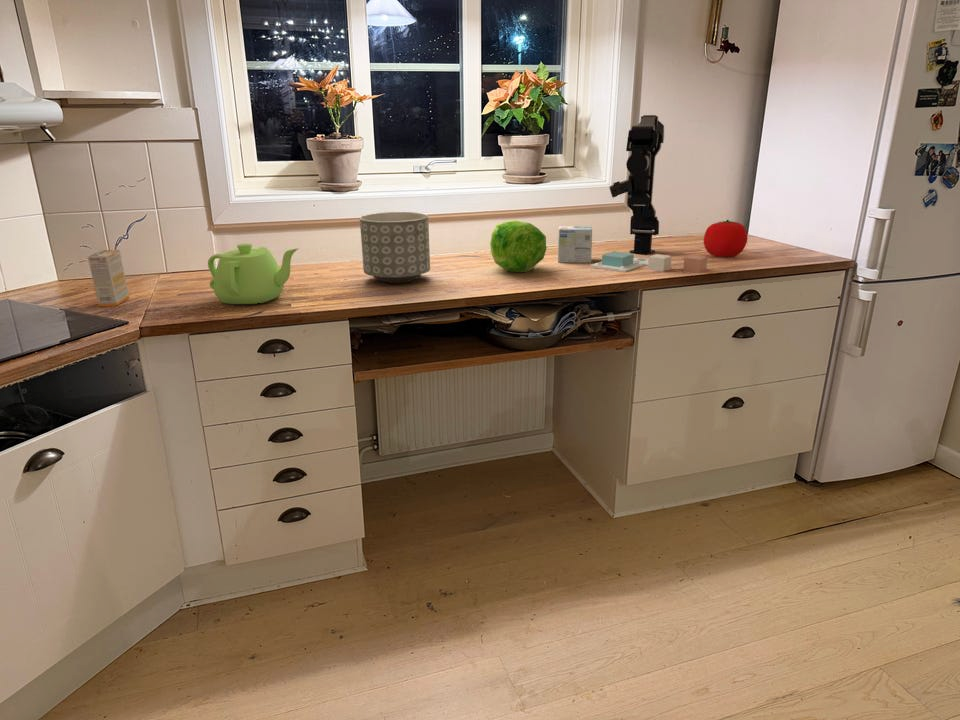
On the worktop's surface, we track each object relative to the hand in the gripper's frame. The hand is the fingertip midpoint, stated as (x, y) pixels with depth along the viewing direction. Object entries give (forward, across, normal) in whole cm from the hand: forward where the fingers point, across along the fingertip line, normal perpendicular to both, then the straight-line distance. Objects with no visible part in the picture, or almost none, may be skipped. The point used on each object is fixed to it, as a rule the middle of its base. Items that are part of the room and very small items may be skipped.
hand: (636, 225), depth 202 cm
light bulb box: (+13, -8, -19) cm, 24 cm away
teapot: (+13, +53, -96) cm, 110 cm away
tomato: (+13, -23, +29) cm, 39 cm away
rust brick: (+13, 0, +18) cm, 22 cm away
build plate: (+13, -2, -5) cm, 14 cm away
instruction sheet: (+13, -10, +2) cm, 17 cm away
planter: (+13, +27, -66) cm, 73 cm away
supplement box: (+12, +62, -132) cm, 146 cm away
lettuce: (+13, +8, -35) cm, 38 cm away
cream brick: (+13, 0, +8) cm, 15 cm away
